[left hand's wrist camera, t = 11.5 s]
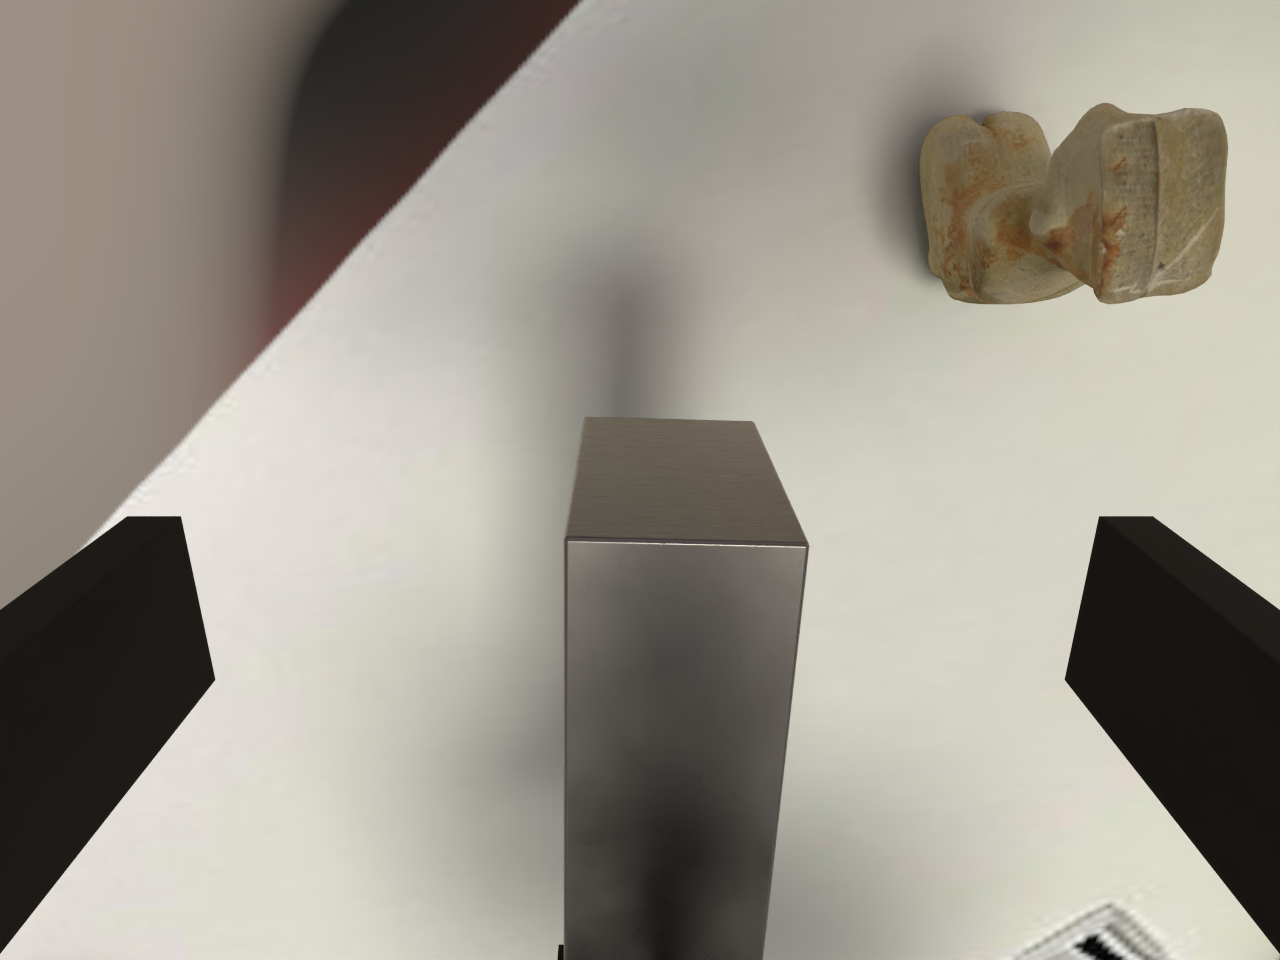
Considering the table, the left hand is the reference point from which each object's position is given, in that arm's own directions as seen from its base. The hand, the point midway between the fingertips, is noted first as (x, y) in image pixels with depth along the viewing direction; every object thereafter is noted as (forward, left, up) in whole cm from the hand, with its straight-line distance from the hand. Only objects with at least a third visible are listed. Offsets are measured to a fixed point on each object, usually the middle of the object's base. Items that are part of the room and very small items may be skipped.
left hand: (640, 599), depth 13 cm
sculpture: (-13, +7, -28) cm, 32 cm away
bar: (+10, +11, -13) cm, 20 cm away
